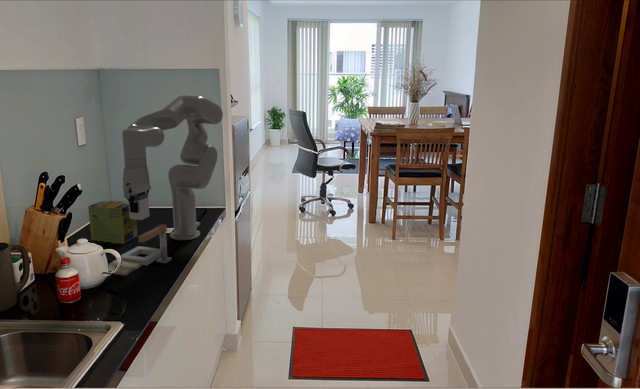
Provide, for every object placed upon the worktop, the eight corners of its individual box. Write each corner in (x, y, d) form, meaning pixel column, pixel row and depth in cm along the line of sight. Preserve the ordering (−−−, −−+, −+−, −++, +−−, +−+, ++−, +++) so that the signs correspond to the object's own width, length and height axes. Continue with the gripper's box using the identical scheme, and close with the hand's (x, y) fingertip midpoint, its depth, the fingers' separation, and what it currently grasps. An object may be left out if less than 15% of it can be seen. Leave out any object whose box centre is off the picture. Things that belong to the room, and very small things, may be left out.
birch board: (115, 262, 178) (115, 259, 178) (141, 266, 176) (141, 263, 175) (99, 271, 170) (98, 269, 170) (125, 275, 167) (125, 272, 167)
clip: (137, 241, 166) (136, 236, 166) (161, 229, 180) (160, 224, 179) (145, 242, 165) (144, 237, 165) (168, 230, 179) (168, 224, 179)
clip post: (162, 258, 183) (160, 229, 180) (171, 259, 182) (170, 230, 179) (156, 262, 180) (154, 232, 177) (165, 263, 179) (164, 233, 176)
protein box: (125, 244, 197) (122, 208, 193) (90, 241, 199) (87, 206, 196) (138, 236, 207) (135, 201, 203) (105, 233, 209) (102, 199, 206)
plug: (138, 215, 182) (136, 187, 180) (149, 216, 181) (147, 188, 178) (129, 218, 178) (127, 190, 175) (141, 220, 176) (139, 191, 174)
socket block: (138, 250, 190) (138, 246, 190) (165, 254, 187) (164, 249, 187) (118, 261, 179) (118, 256, 179) (146, 265, 176) (146, 260, 176)
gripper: (141, 158, 183) (144, 203, 188) (111, 166, 167) (115, 215, 172) (158, 159, 181) (161, 205, 186) (129, 167, 165) (133, 217, 170)
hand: (139, 209), depth 179 cm, fingers closed on plug, 5 cm apart
